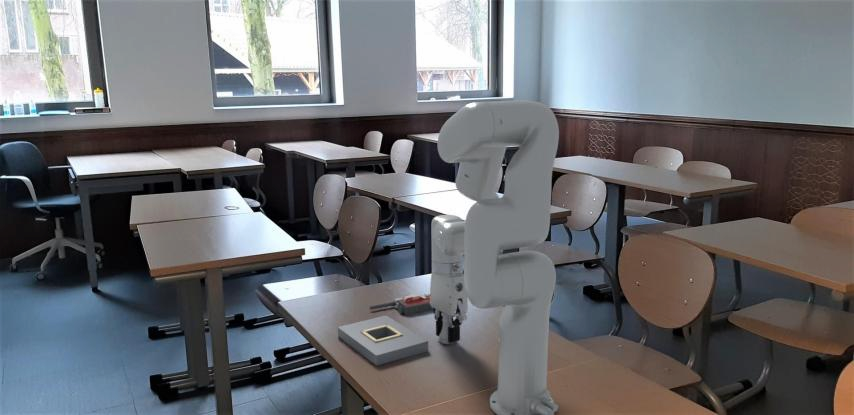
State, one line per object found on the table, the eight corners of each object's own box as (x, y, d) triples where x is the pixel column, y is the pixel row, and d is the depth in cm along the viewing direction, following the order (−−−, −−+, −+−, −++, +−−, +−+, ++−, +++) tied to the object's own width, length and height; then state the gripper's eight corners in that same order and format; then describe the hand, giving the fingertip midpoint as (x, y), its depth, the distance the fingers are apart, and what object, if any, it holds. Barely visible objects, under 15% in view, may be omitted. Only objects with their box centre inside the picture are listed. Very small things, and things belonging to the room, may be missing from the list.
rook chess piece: (455, 345, 154) (455, 314, 153) (437, 344, 155) (437, 313, 154) (458, 338, 159) (458, 307, 157) (440, 336, 159) (440, 306, 158)
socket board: (428, 350, 152) (427, 339, 151) (376, 365, 144) (376, 354, 144) (386, 324, 168) (385, 314, 168) (338, 336, 161) (337, 326, 160)
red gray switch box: (431, 299, 187) (368, 311, 179) (431, 285, 186) (367, 296, 178) (445, 309, 180) (380, 321, 171) (445, 294, 179) (380, 306, 170)
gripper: (481, 272, 148) (481, 345, 152) (440, 256, 162) (440, 324, 166) (455, 278, 144) (455, 353, 148) (415, 261, 158) (416, 330, 162)
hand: (447, 337), depth 157 cm, fingers closed on rook chess piece, 4 cm apart
